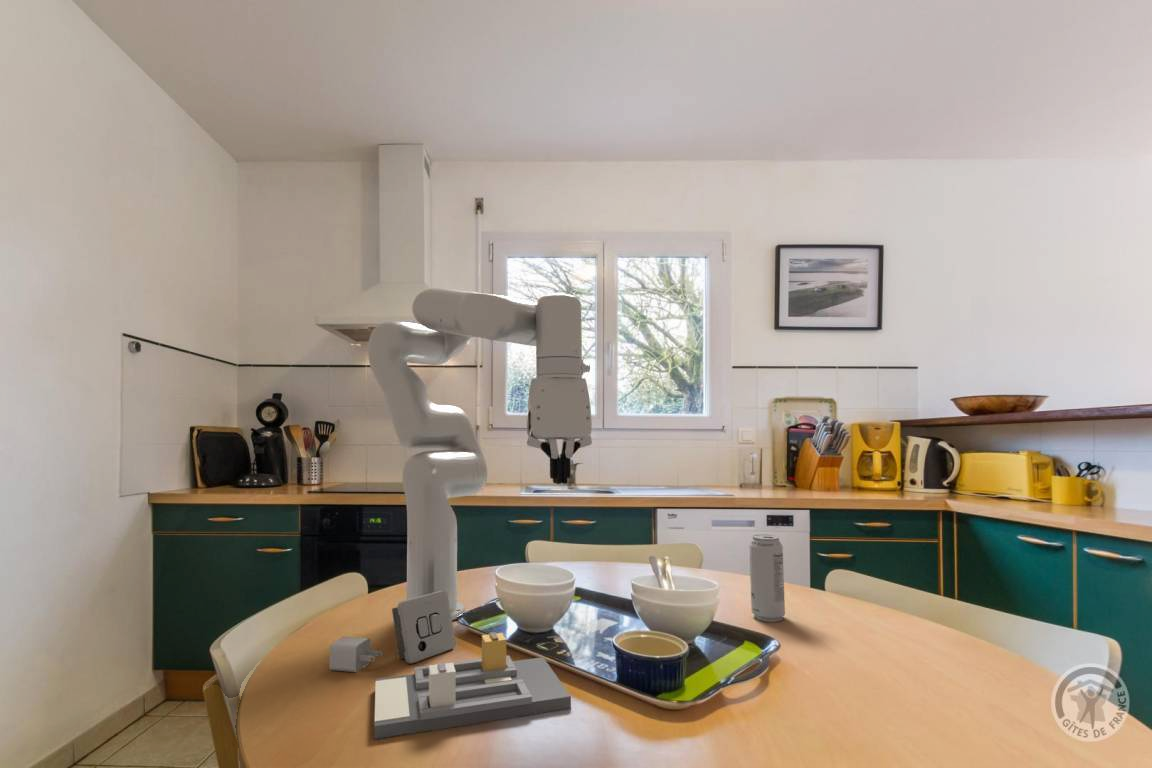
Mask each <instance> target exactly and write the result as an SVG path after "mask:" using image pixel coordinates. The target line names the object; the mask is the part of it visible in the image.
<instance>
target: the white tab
mask: <svg viewBox="0 0 1152 768" xmlns="http://www.w3.org/2000/svg"><path fill="white" fill-rule="evenodd" d="M428 666H429V707H430V708H434V707H441V706H448V705H455V702H456V671H455V668H454V664H453V663H452V662H447V663H446V662H445V661H440V662H439V661H438V662H437V664H430V665H428Z"/></svg>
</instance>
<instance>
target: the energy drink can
mask: <svg viewBox="0 0 1152 768" xmlns="http://www.w3.org/2000/svg"><path fill="white" fill-rule="evenodd" d="M748 548H749V573H750V576H749V577H750V579H749V580H750V601H751V602H750V603H751V605H750V606H751V610H750V611H751V613H752V614H753V615H754V618H755V619H756V620H758V621H763V622H765V623H767V622H769V623H774V622H775V623H776V622H780V621H782V620H783V617H784V616H785V615H786V607H785V605H786V604H785V603H786V602H785V580H784V578H785V577H784V575H785V574H784V573H785V571H784V552H783V551H784V550H783V548H784V546H783V544H782V543H781V541H780V537H779V536H778V535H773V534H754V535H752V540H751V542H750V543H749V547H748Z"/></svg>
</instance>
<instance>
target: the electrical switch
mask: <svg viewBox="0 0 1152 768" xmlns="http://www.w3.org/2000/svg"><path fill="white" fill-rule="evenodd" d="M391 612H392V618H393V625H394V631H395V639H396V645H397V651H398V657H399V659H400V660H401V659H402V660H403V659H405V662H406V663H407V664H408V665H411V664H414V663H417V662H420V661H423V660H425V659H428V658H431V657H433V656H436V655H439V654H441V653H444V652H446V651H450V650H453V649H454V648H456V644H457V641H456V635H455V630H454V625H453V624H454V623H453V620H452V618H451V612H450V606H449V600H448V594H447V592H446V591H438V592H434V593H431V594H427V595H423V596H420V597H416V598H412V599H409V600H407V599H405V600H401V601H400V602H398V604H397V607H393V608H392V609H391Z"/></svg>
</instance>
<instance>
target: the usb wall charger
mask: <svg viewBox="0 0 1152 768" xmlns="http://www.w3.org/2000/svg"><path fill="white" fill-rule="evenodd" d="M379 653H380V654H379ZM382 656H383V651H381V650H371V639H370V638H368V637H367V638H365V637H352V636H342V637H339V638H338V639H336V640H335V641H333V642H331V644H330V646H329V667H328V668H329V670H330V671H337V672H347V673H349V672H350V673H358V672H360V671H361V670H363V669H364V668H365V667H367V666H368V665H369V664H370V662H375V661H376V657H382ZM367 664H368V665H367ZM366 665H367V666H366ZM364 666H365V667H364ZM363 667H364V668H363ZM362 668H363V669H362ZM360 669H361V670H360ZM359 670H360V671H359ZM357 671H358V672H357Z"/></svg>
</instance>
